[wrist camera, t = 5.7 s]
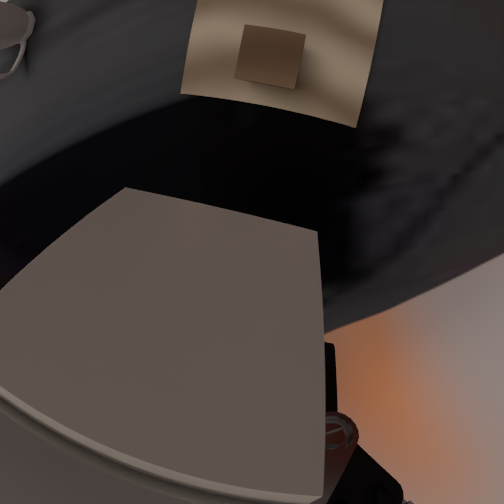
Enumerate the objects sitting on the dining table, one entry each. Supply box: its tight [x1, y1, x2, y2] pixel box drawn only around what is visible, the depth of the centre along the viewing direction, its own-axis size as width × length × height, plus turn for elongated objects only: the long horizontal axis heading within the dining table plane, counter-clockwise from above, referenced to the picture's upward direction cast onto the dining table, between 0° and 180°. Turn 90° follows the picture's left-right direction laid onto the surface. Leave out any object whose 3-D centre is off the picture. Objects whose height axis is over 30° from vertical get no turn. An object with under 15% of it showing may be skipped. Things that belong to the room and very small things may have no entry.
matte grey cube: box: [0, 188, 325, 504], centre depth 8 cm, size 7×7×8 cm
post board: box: [181, 0, 383, 128], centre depth 16 cm, size 16×14×7 cm
